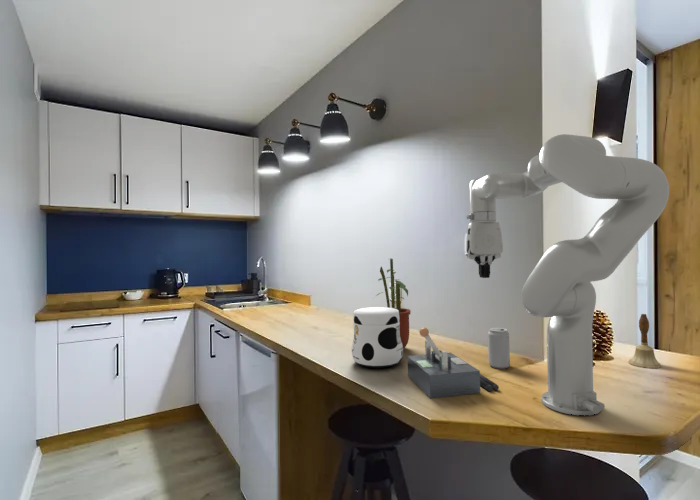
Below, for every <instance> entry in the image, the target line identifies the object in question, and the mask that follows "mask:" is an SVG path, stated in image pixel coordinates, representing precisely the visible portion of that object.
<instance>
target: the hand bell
mask: <svg viewBox="0 0 700 500" xmlns="http://www.w3.org/2000/svg"><path fill="white" fill-rule="evenodd" d="M638 328H639V331H640V334H641V335H640V345H637V346H635V352H634V354H633V356H632V357H631V358H630V359H628V364H630V365H631V366H635V367H639V368H643V369H649V370H650V369H652V370H653V369H660V368H662V364H661V363H660V362H659V361H658V360H657V358H656V354H655V351H654V348H653V347H651V346H650V345H649V340H648V339H649V338H648V332H649V330H650V322H649V318H648V316H647V314H646V313H641V314H640V317H639V320H638Z"/></svg>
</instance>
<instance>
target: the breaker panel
mask: <svg viewBox="0 0 700 500" xmlns="http://www.w3.org/2000/svg"><path fill="white" fill-rule="evenodd" d="M424 343H425V344H424V348H425V349H424V351H425V352H424V353H425V354H415V355H407V376H408V377H409V378H410V379H411V381H413V382H414V383H415V385H417V387H418V388H419V389H421V391H422V392H424V394H425V395H426V396H427V397H428V398H429V399H437V398H446V397H447V398H449V397H455V396H456V397H457V396H458V397H459V396H466V395H467V396H469V395H478V394H481V385H480V374H481V373H480V372H481V371H480V370H479V369H477V368H476V367H475V366H473V365H472V364H469V363H468V362H466V361H465V360H464V359H462V358H460V357H459V356H456V355H455V354H454V353H452V352H448V351H447V350H441V349H440V350H439V351H440V353H441V356H439V359H440V361H439V360H437V359H436V358H435V352H434V351H433V350H432V348H431V346H430V345H429V343H428V342H427V340H426V339H425V340H424Z"/></svg>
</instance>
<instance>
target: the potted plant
mask: <svg viewBox="0 0 700 500" xmlns="http://www.w3.org/2000/svg"><path fill="white" fill-rule="evenodd" d="M389 264H390V265H389V266H390V268H389V269H386V273H387V274H388V273H389V272H390V276H388V277H386V276H385V271H384V269H383V267H382V265H381V266H380V268H379V272H380V275H381V278H379V279H378V280H377V281H378V282H380V281H382V282H383V283H382V284H383V287H384V291H382V292H379V293H378V294H376V295H375V297H377V296H379V295H380V294H384V293H385V299H386V300H385V301H386V306H387V307H388V308H394V309H397V310H398V311H399V322H400V338H401V342H402V345H403V350H404V349H405V348H406V347H407V345H408V343H409V339H410V338H409V337H410V315H411V312H412V311H411V309H409V308H405V307H404V308H403V307H402V303H401V299H403V300H405V298H404V297H402V296H401V289H402V290H403V291H405V294H406V296H407V297H408V296H409V290H408V289H407V286H406V285H405V284H404V283H403V282H402V281H401V280H400V278H399V279H398V278H397V279H395V274H396V273H397V271H395V269H394V258H391V257H390V258H389ZM389 278H390V286H389V287H388V285H387V280H386V279H389ZM388 288H389V289H390V297H391V303H390V297H389V291H388ZM375 297H374V298H375ZM374 298H372V300H374ZM395 302H396V303H395ZM395 304H396V305H395Z"/></svg>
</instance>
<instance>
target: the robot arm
mask: <svg viewBox="0 0 700 500" xmlns="http://www.w3.org/2000/svg"><path fill="white" fill-rule="evenodd" d="M560 183H563V184H564V185H566V186H568V187H570V188H571V189H572V190H574V191H576V192H578V193H579V194H581V195H583V196H585V197H587V198H592V199H598V200H599V199H600V200H617V201H616V203H615V204H614V205H613V206H612V207H610V208H608V210H607V211H605V212H604V213H603V214H602V215H601V216H600V217H599V218H598V219H597V220H596V222H595V223H594V225H593V226H592V228H591V229H590V230H589V232H588V233H586V235H585V236H583V237H582V238H578V239H576V238H575V239H564V240H561V241H558V242H555V243H553V245H551V246H550V247H548V249H547V250H545V252H544V253H543V255H542V256H541V257H540V259H539V261H538V262H537V264H536V265H535V266H534V267H533V269H532V271H531V272H530V274H529V276H528V277H527V279H526V281H525V282H524V284H523V286H522V289H521V293H520V298H521V299H520V300H521V304H522V306H523V308H524V310H525V311H526V312H527V313H529V314H530V315H532V316H533V317H537V318H549V320H548V323H547V328H546V355H547V356H546V358H547V359H546V360H547V391H546V392H544V393H542V394H541V396H540V397H541V403H542V404H543V405H544V406H545V407H547V408H548V409H551V410H553V411H555V412H558V413H562V414H566V415H571V414H572V415H571V416H579V415H584V417H585V415H589V416H594V414H595V415H598V414H599V412H600V413H601V412H602V410H603V409H605V407H606V406H605V403H603V402H601V401H599V400H598V398H597V392H595V391H594V366H593V365H594V362H593V357H594V356H593V322H594V321H593V320H594V314H595V310H596V305H597V304H596V303H597V293H596V289H595V286H594V285H593V283H592V282H598V281H602V280H606V279H608V278H609V277H610V276H611V275H612V274H613V273H615V271H616V269H618V267H619V265H621V263H622V262H623V261H624V259H625V258H626V257H627V256H628V255H629V254H630V253H631V251H632V250H633V249H634V248H635V246H636V245H637V244H638V242H639V241H640V240H641V239H642V237H643V236H644V235H645V234H646V233H647V231H649V230H650V229H651V227H652V226H653V225H654V223H656V222H657V220H658V219H659V217H660V216H661V215H662V213H663V211H664V210H665V208H666V206H667V204H668V202H669V201H668V200H669V197H670V184H669V181H668V178H667V176H666V174H665V172H664V171H663V170H662V168H661V167H660V166H658V165H657V164H655V163H654V162H652V161H650V160H646V159H643V158H636V157H626V156H625V157H623V156H613V155H607V149H606V146H604V144H603V143H602V142H601V141H600V140H598V139H597V138H594V137H591V136H585V135H577V134H576V135H575V134H568V133H567V134H557V135H555V136H553V137H551V138H549V139H548V140H547V141H546V142H545V143H544V144H543V145H542V147H541V149H540V151H539V154H537V155H535V156H533V157H532V158H531V159H530V160H529V162H528V165H527V171H524V172H522V173H512V172H511V173H506V172H505V173H504V172H491V173H487V174H485V175H484V176H482V177H477V178H474V179H472V180H471V181H470V182H469V212H470V213H469V214H467V215H466V220H469V222H470V223H468V226H467V232H466V243H465V244H466V245H465V247H466V253H467V256H466V257H467V259H469V260H472V261H474V262H475V263H476V265H478V275H479V278H482V279H486V278H487V279H489V278H490V277H491V276H490V275H491V265H492V263H493V262H494V261H495V260H497V259H500V258H501V257H502V255H501V254H502V253H503V252H504V251H503V250H504V248H503V247H504V244H503V235H502V229H501V225H500V222H498V221H497V202H496V200H522V199H526V198H530V197H533V196H537V195H539V194H541V193H543V192H544V191H546V190H547V189H548V188H549V187H551V186H554V185H556V184H560Z"/></svg>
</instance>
